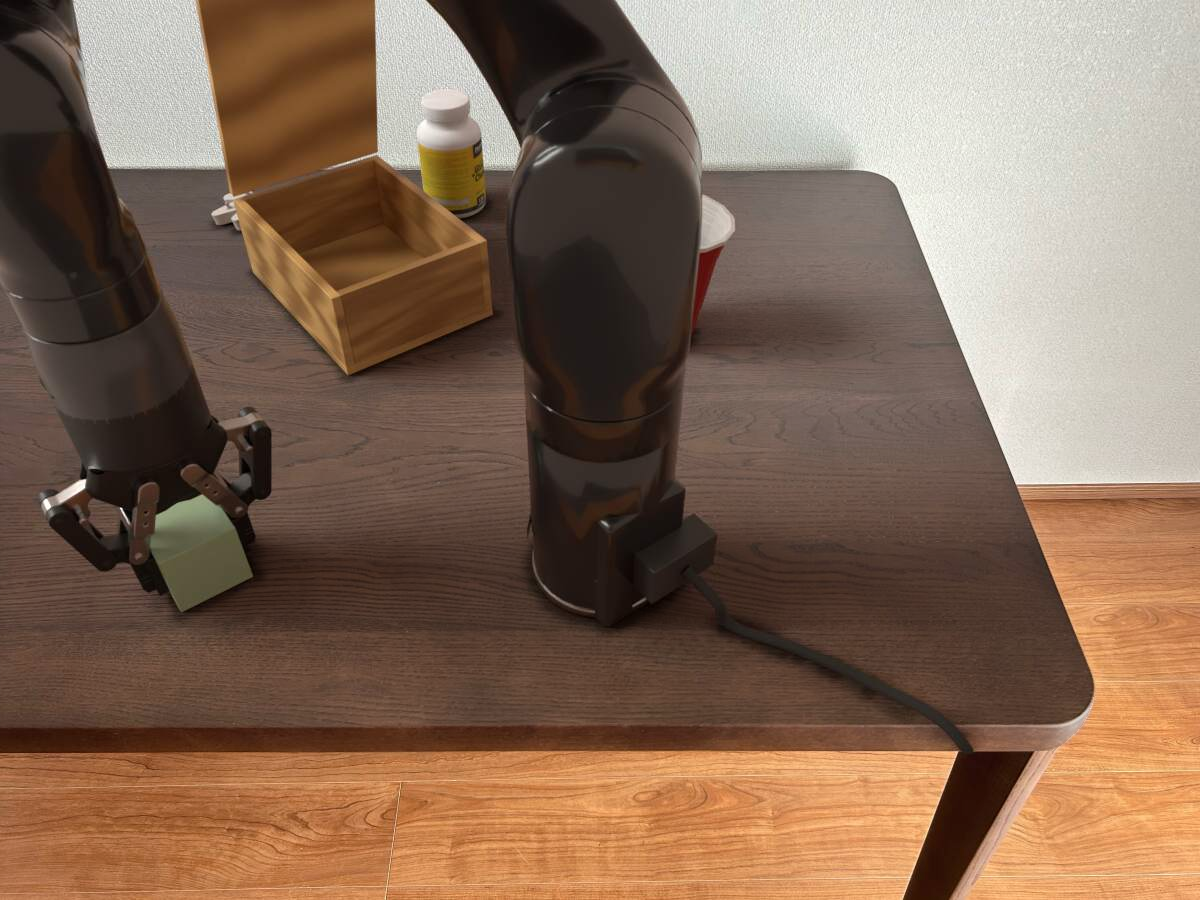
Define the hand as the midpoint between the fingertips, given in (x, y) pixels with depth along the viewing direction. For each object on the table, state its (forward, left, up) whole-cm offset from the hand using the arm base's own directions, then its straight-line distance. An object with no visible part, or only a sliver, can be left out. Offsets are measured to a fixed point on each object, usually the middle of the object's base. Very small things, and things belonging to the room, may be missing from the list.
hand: (201, 565), depth 66 cm
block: (0, 0, -1) cm, 1 cm away
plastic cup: (+2, -43, -1) cm, 43 cm away
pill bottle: (+32, -40, -1) cm, 51 cm away
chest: (+23, -25, -1) cm, 34 cm away
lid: (+30, -25, +17) cm, 43 cm away
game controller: (+42, -24, -1) cm, 48 cm away
